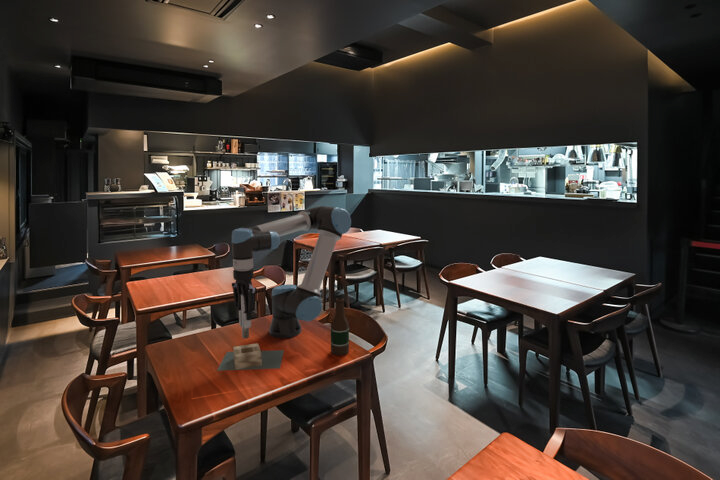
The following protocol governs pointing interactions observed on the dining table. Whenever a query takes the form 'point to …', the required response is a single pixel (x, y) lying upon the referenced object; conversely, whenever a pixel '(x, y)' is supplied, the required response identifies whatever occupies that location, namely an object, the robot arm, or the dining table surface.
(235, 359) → the wooden square socket block
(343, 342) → the beer bottle
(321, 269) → the robot arm
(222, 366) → the felt mat
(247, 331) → the metal peg
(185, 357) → the dining table surface
